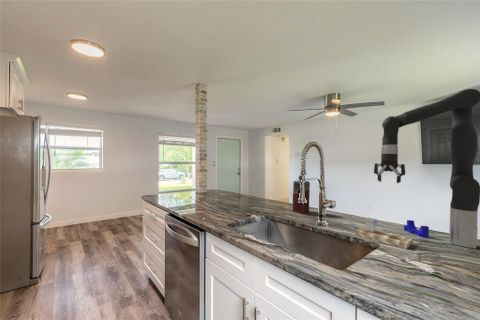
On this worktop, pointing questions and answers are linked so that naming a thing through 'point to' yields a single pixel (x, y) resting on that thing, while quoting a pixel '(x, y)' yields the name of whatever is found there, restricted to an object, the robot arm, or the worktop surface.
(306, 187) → the dark red bottle
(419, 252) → the worktop surface
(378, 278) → the worktop surface
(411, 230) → the cable clip
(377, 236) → the birch rail
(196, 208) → the worktop surface
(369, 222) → the steel peg
